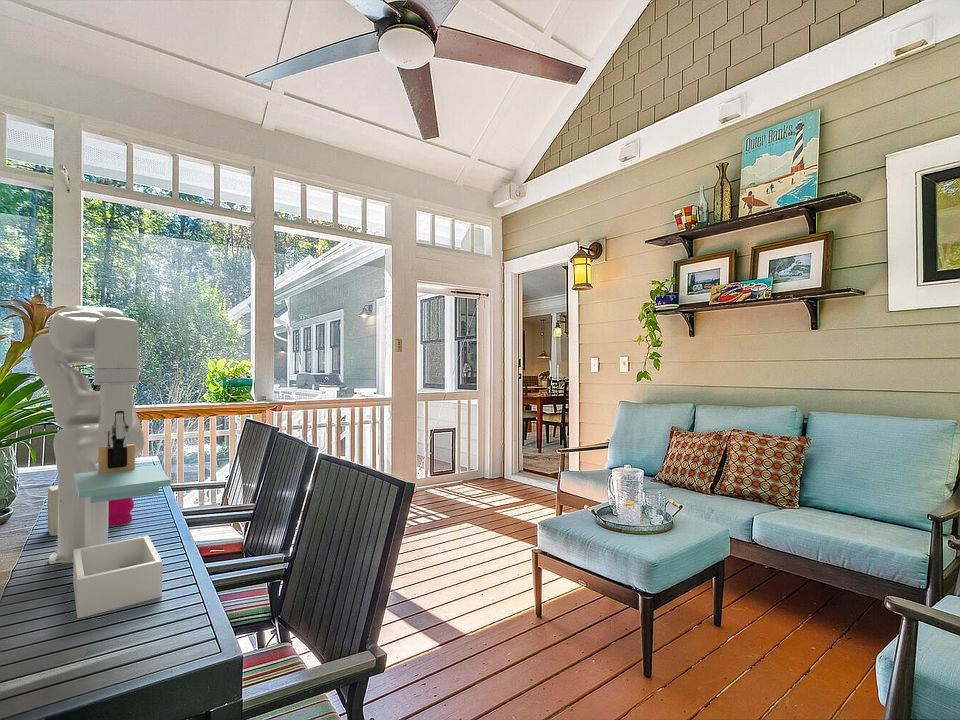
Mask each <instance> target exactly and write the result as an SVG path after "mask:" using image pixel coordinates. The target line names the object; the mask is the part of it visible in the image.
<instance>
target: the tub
mask: <svg viewBox="0 0 960 720" xmlns="http://www.w3.org/2000/svg"><path fill="white" fill-rule="evenodd" d="M110 542H111V543H105V544H100V545H95V546H89V547H84V548H79V549H74V559H73V562H72V563H73V566H72V567H73V569H72V570H73V571H72V573H73V574H72V575H73V579H72V580H73V581H72V584H73V585H72V586H73V594H74V602H75V609H76V617H77V620H78V619H82V618H86V617H89V616H92V615H93V616H94V615H96V614H101V613H104V612H105V613H106V612H108V611H113V610H117V609H120V608H124V607H128V606H131V605H136V604H139V603H143V602H148V601H150V600H156V599H159V598H162V597H163V560H162V558H161V556H160V555H159V553H158V551H157V548H156V547H155V546H154V544H153V541H152V540H151V537H150V535H144V536H139V537H133V538H127V539H121V540H117V541H110ZM136 563H137V565H135V566H130V567H125V568H121V569H120V567H122V566H127V565H132V564H136Z"/></svg>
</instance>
